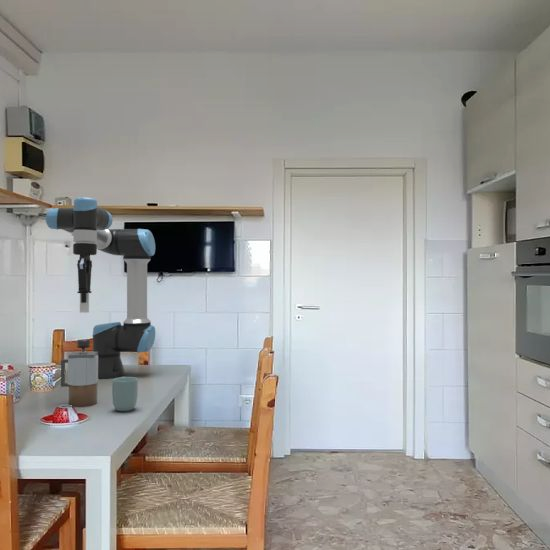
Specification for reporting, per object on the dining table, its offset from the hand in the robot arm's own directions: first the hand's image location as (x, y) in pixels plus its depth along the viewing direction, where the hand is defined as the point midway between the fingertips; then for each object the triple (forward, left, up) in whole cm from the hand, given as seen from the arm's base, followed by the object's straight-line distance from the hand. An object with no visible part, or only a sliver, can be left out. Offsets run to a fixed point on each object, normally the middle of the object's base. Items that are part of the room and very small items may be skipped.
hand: (84, 312), depth 169 cm
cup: (+11, +15, -31) cm, 36 cm away
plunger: (0, 0, -23) cm, 23 cm away
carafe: (0, -1, -31) cm, 31 cm away
